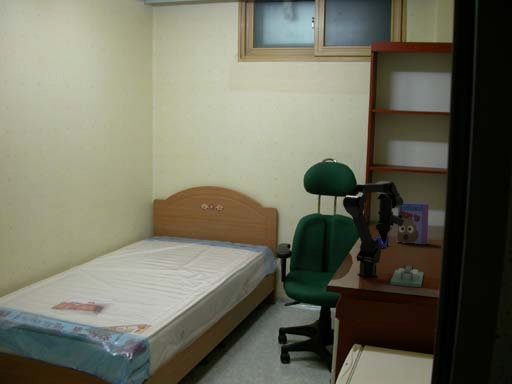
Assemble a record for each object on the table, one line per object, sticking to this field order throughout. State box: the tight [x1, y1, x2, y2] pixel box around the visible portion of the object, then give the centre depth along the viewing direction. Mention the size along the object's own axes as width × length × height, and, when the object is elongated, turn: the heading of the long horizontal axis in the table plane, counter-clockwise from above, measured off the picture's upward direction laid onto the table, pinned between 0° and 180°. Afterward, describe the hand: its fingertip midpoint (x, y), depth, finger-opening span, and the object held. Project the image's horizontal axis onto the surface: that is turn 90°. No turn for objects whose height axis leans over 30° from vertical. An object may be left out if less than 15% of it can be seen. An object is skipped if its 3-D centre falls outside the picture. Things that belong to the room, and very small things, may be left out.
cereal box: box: [396, 202, 430, 245], centre depth 323 cm, size 17×5×24 cm, turn 77°
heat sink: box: [397, 264, 419, 280], centre depth 229 cm, size 13×8×4 cm, turn 160°
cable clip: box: [374, 235, 390, 249], centre depth 309 cm, size 12×4×6 cm, turn 142°
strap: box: [403, 265, 412, 274], centre depth 229 cm, size 12×3×1 cm, turn 160°
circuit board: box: [390, 269, 424, 288], centre depth 229 cm, size 24×12×1 cm, turn 160°
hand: (384, 243), depth 243 cm, fingers closed
